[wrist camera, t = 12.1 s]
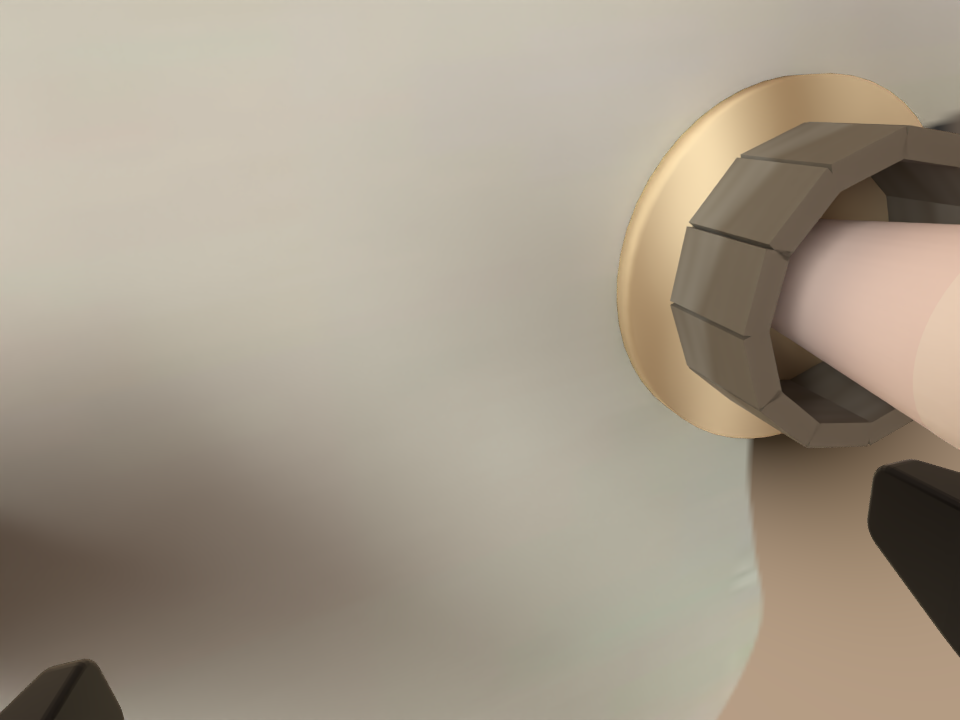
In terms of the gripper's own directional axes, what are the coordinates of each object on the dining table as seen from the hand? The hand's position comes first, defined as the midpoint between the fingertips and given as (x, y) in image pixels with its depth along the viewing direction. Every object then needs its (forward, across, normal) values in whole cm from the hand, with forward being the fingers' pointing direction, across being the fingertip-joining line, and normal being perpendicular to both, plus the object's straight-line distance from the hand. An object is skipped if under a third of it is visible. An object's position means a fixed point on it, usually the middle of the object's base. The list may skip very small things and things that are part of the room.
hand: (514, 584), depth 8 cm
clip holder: (+14, -12, +3) cm, 19 cm away
